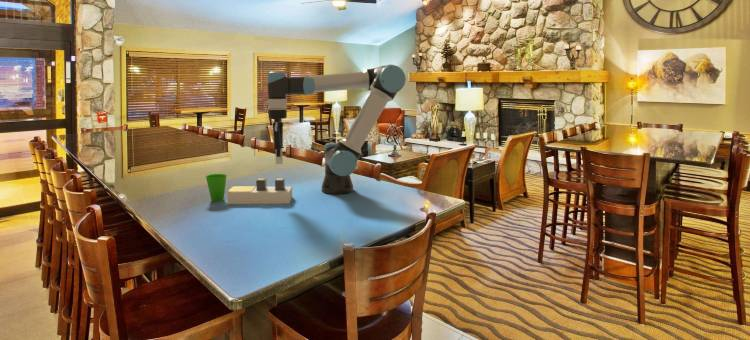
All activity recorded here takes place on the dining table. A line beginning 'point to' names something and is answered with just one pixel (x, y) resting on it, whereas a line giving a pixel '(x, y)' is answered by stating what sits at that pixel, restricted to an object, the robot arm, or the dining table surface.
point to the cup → (216, 186)
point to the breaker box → (258, 195)
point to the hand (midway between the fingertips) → (279, 163)
